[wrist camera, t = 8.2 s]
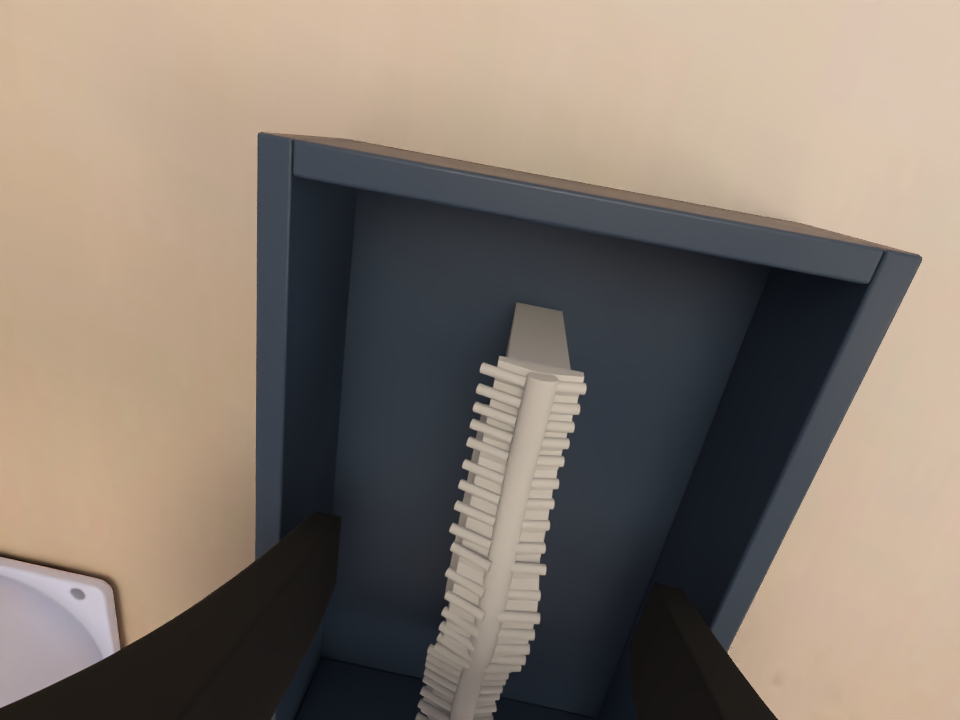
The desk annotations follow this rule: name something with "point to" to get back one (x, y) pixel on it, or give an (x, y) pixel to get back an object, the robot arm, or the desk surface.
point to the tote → (598, 428)
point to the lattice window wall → (503, 519)
